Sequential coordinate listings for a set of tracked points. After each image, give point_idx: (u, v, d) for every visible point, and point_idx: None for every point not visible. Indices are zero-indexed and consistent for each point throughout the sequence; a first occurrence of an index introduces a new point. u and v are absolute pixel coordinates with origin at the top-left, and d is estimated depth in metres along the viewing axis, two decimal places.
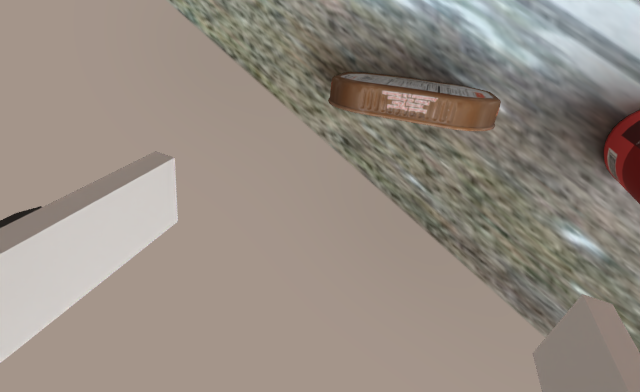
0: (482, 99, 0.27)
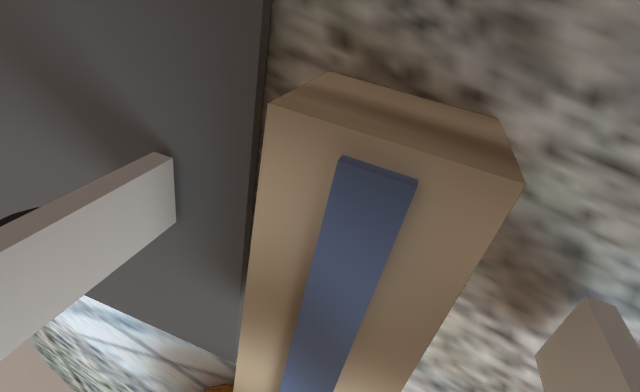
0: None
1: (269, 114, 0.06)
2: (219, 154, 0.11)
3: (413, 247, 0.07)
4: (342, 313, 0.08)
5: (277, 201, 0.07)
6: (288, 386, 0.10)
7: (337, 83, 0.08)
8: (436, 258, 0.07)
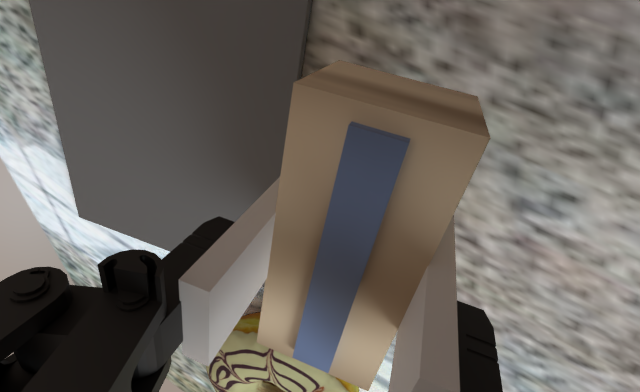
0: None
1: (294, 92, 0.08)
2: (268, 113, 0.16)
3: (407, 194, 0.08)
4: (352, 254, 0.09)
5: (299, 163, 0.09)
6: (306, 326, 0.11)
7: (344, 70, 0.10)
8: (425, 202, 0.08)
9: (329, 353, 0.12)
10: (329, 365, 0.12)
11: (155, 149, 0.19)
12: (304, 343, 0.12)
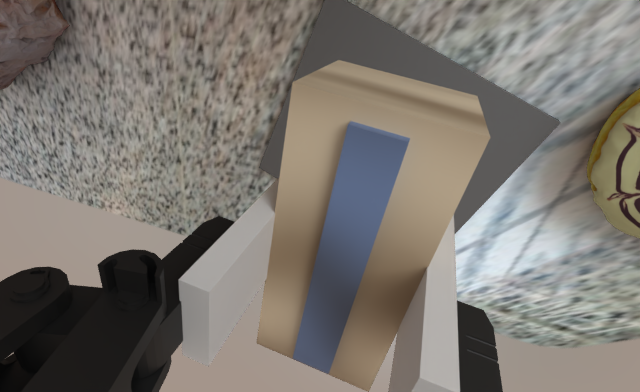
0: None
1: (293, 92, 0.08)
2: (392, 50, 0.21)
3: (407, 194, 0.08)
4: (352, 254, 0.09)
5: (298, 163, 0.09)
6: (306, 327, 0.11)
7: (344, 69, 0.10)
8: (425, 203, 0.08)
9: (329, 354, 0.12)
10: (329, 366, 0.12)
11: None
12: (304, 344, 0.12)
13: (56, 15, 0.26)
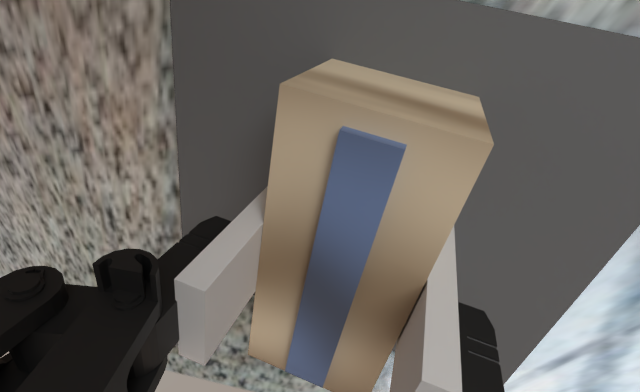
0: None
1: (281, 94, 0.08)
2: (317, 15, 0.10)
3: (403, 204, 0.08)
4: (345, 266, 0.09)
5: (288, 169, 0.08)
6: (298, 340, 0.11)
7: (337, 69, 0.10)
8: (423, 213, 0.08)
9: (323, 367, 0.11)
10: (323, 379, 0.11)
11: None
12: (297, 357, 0.11)
13: None
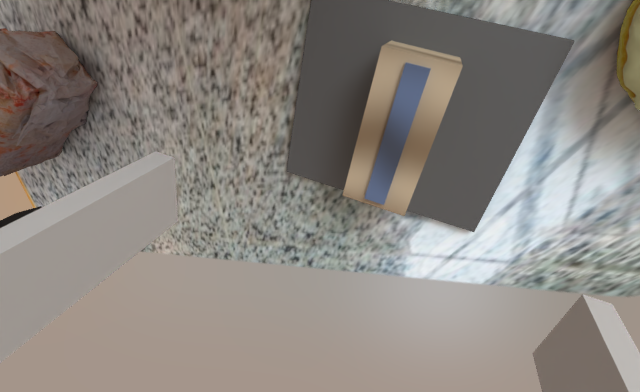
0: None
1: None
2: (385, 20, 0.22)
3: (428, 94, 0.20)
4: (402, 127, 0.21)
5: (380, 83, 0.20)
6: (374, 175, 0.23)
7: (396, 44, 0.21)
8: (436, 98, 0.20)
9: (385, 190, 0.23)
10: (385, 199, 0.23)
11: None
12: (372, 187, 0.23)
13: (85, 75, 0.30)
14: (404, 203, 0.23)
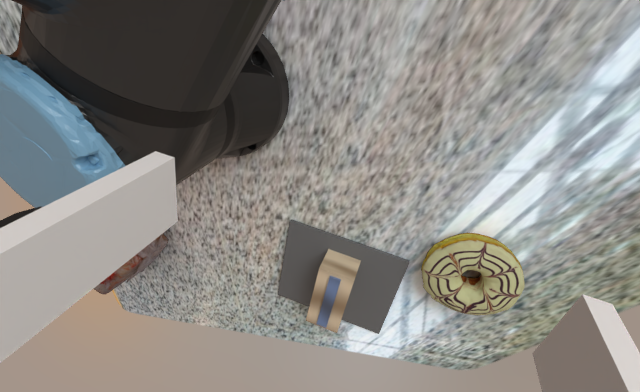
0: None
1: (319, 268, 0.42)
2: (325, 240, 0.45)
3: (341, 288, 0.42)
4: (331, 299, 0.43)
5: (319, 280, 0.43)
6: (320, 315, 0.45)
7: (329, 256, 0.44)
8: (344, 290, 0.42)
9: (326, 322, 0.46)
10: (326, 325, 0.46)
11: None
12: (319, 319, 0.46)
13: (163, 239, 0.53)
14: (336, 327, 0.46)
